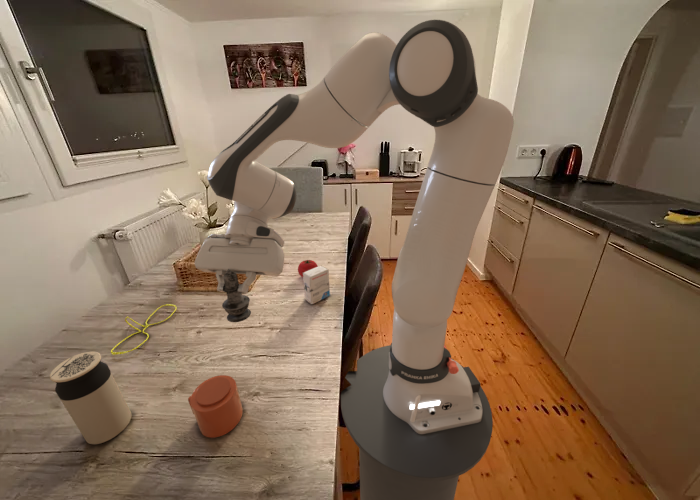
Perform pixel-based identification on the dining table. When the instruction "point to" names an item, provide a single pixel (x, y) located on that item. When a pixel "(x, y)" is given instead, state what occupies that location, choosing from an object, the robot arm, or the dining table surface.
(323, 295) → the ink box
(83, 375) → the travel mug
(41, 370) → the dining table surface
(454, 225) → the robot arm
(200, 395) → the coffee cup
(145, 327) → the yellow rope bow
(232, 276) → the grey chess piece
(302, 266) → the tomato
